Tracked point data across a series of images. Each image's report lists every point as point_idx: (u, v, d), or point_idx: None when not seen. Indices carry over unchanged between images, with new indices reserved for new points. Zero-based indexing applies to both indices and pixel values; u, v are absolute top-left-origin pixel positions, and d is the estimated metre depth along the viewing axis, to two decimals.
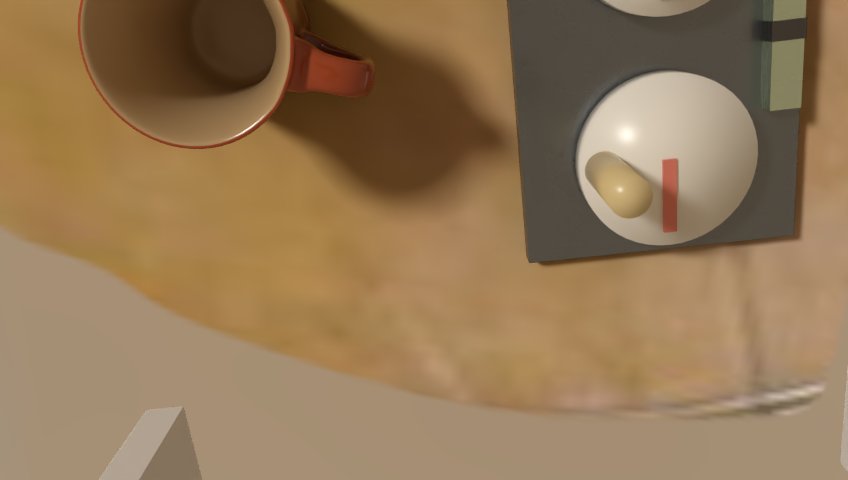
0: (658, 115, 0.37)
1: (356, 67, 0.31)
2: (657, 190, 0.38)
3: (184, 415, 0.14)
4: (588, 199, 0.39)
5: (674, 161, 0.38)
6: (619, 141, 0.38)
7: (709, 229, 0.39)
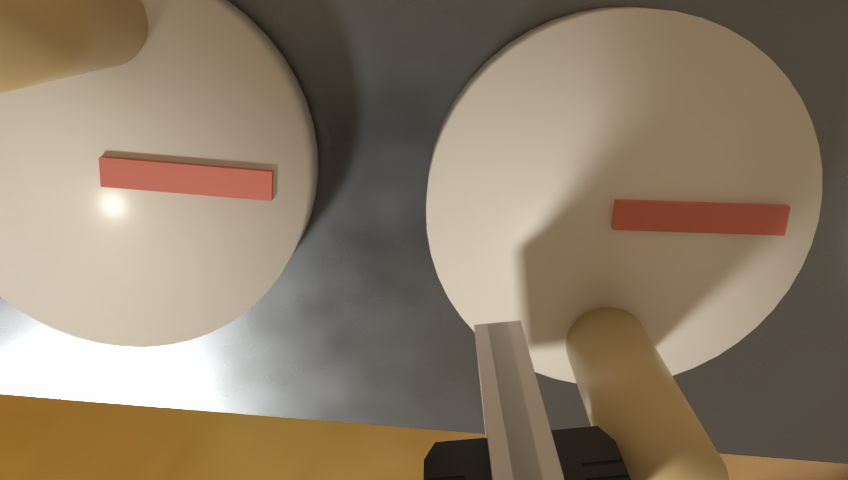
0: None
1: None
2: None
3: None
4: None
5: None
6: None
7: None
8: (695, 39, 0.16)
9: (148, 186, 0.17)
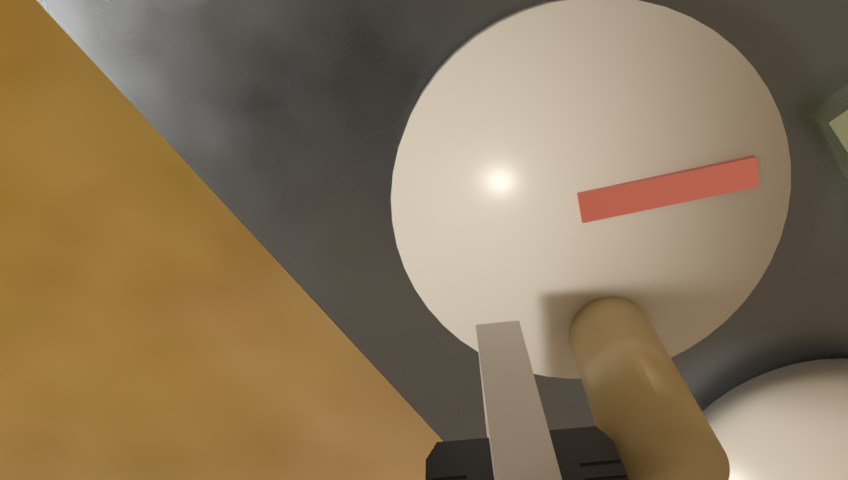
0: None
1: None
2: None
3: None
4: None
5: None
6: None
7: None
8: (610, 19, 0.15)
9: None
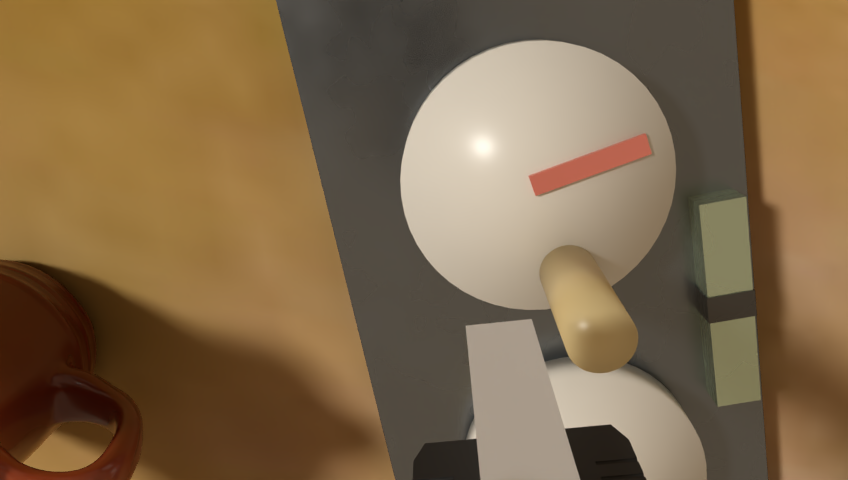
0: None
1: None
2: None
3: None
4: None
5: None
6: None
7: None
8: (531, 56, 0.23)
9: None
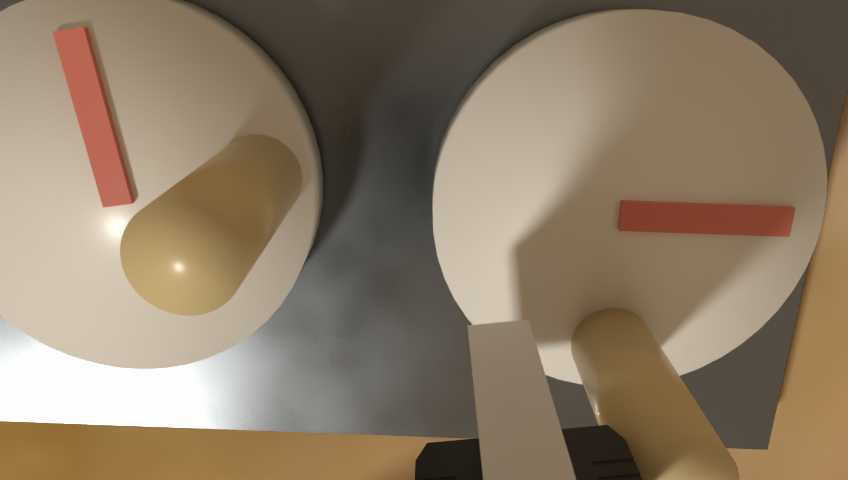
0: (518, 231, 0.17)
1: None
2: (685, 241, 0.17)
3: None
4: None
5: (627, 207, 0.17)
6: (556, 310, 0.18)
7: (814, 130, 0.16)
8: None
9: None
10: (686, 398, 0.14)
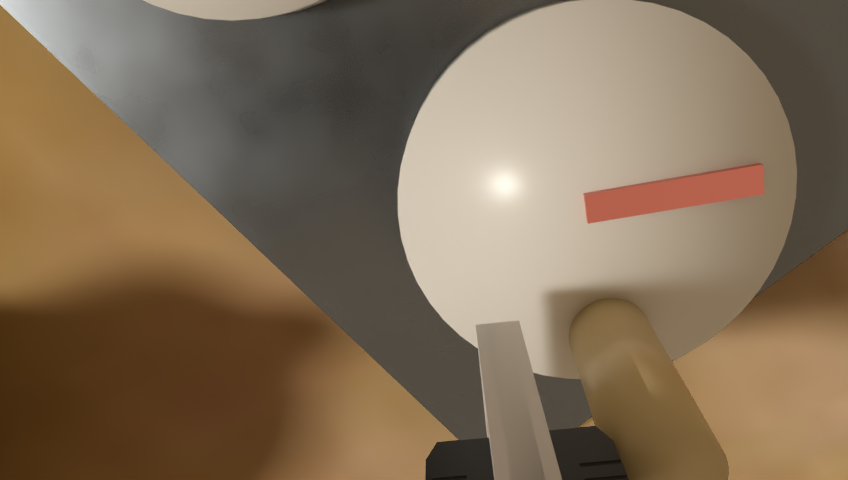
0: (489, 244, 0.17)
1: None
2: (658, 220, 0.17)
3: None
4: (674, 355, 0.18)
5: (590, 199, 0.17)
6: (547, 312, 0.18)
7: (763, 82, 0.16)
8: None
9: None
10: (667, 384, 0.14)
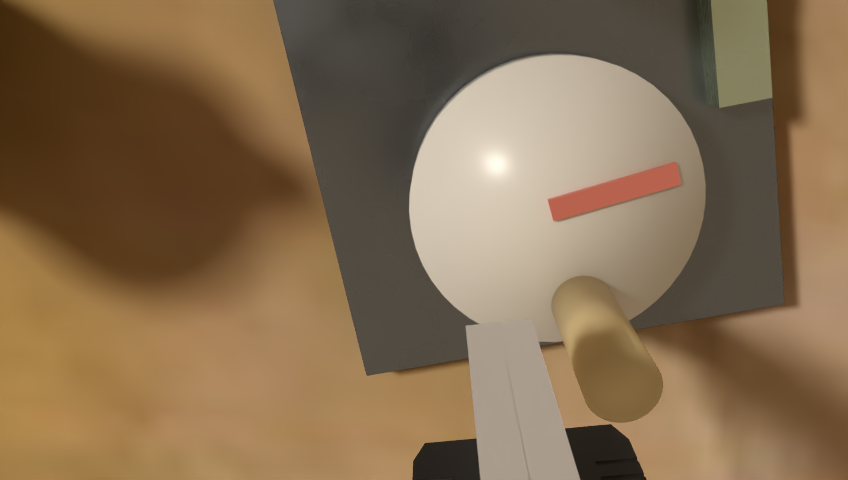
0: (482, 245, 0.23)
1: None
2: (606, 212, 0.23)
3: None
4: (634, 314, 0.24)
5: (553, 203, 0.22)
6: (532, 292, 0.23)
7: (667, 103, 0.22)
8: None
9: None
10: (617, 327, 0.19)
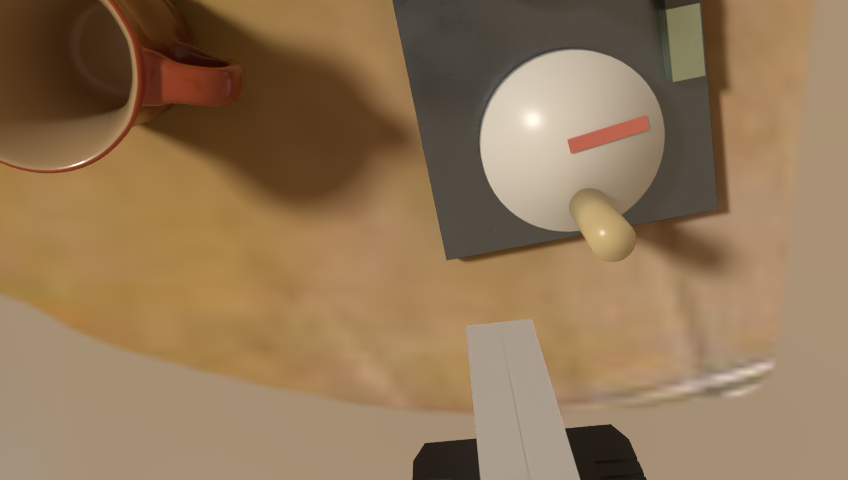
0: (526, 169, 0.37)
1: (212, 74, 0.30)
2: (603, 147, 0.36)
3: None
4: (621, 213, 0.38)
5: (570, 141, 0.36)
6: (557, 199, 0.37)
7: (640, 79, 0.35)
8: None
9: None
10: (610, 210, 0.33)
